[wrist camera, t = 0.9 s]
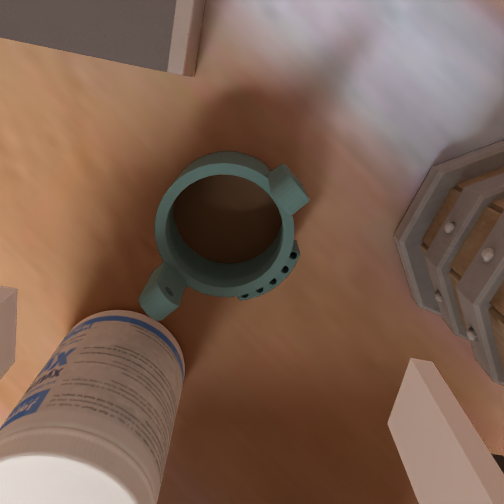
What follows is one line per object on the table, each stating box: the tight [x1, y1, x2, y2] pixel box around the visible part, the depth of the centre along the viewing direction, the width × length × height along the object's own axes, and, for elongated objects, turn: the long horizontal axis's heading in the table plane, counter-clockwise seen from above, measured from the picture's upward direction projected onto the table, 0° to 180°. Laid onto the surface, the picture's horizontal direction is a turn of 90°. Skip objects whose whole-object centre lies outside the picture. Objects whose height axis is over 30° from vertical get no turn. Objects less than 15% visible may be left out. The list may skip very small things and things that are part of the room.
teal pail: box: [139, 151, 310, 321], centre depth 29 cm, size 9×9×9 cm
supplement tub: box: [0, 310, 185, 504], centre depth 30 cm, size 10×10×15 cm
